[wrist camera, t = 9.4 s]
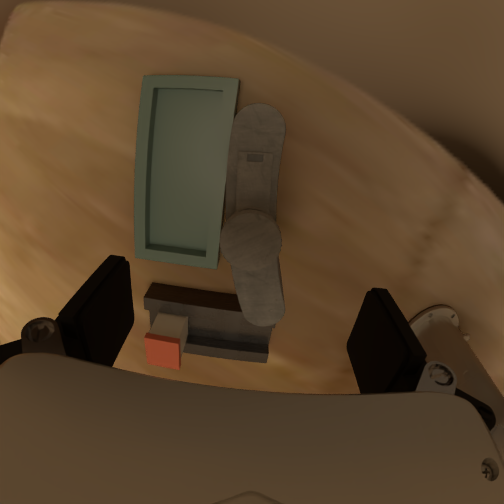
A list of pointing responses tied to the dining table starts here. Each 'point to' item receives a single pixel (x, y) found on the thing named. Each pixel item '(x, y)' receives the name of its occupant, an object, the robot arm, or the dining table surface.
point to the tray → (182, 167)
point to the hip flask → (255, 212)
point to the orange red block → (166, 340)
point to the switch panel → (211, 322)
